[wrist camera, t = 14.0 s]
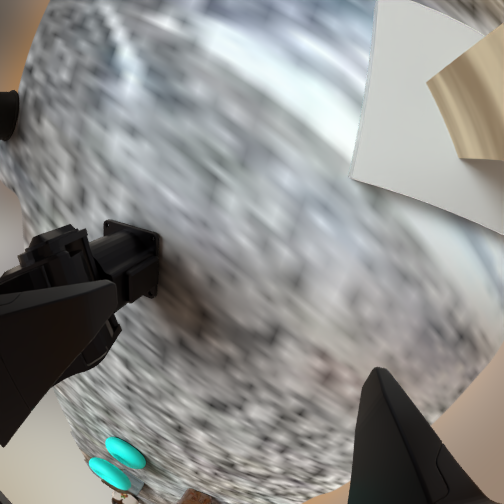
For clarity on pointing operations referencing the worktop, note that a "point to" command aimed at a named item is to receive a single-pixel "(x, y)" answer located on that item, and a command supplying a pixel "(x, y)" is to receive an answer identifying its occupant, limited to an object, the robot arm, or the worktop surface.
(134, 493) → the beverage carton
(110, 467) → the donuts
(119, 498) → the spread jar
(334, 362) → the worktop surface
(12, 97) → the aerosol can
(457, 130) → the birch block
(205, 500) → the food item
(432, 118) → the light grey slab
